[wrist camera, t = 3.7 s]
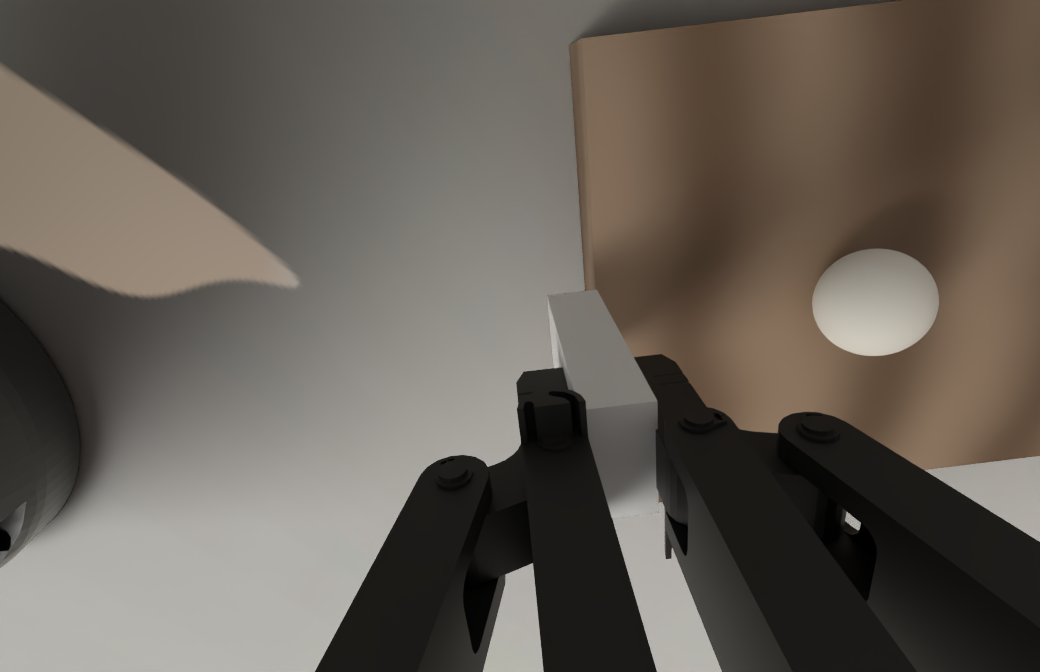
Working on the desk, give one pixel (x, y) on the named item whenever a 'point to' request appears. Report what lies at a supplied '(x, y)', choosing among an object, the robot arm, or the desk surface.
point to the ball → (875, 302)
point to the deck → (825, 210)
